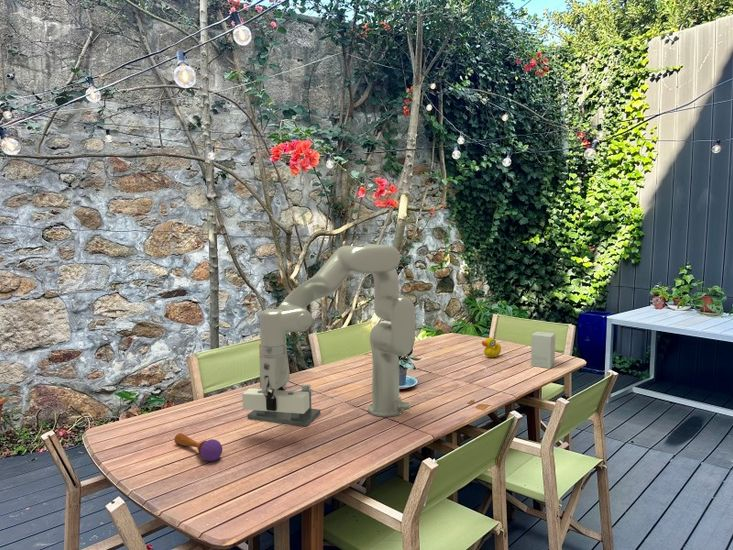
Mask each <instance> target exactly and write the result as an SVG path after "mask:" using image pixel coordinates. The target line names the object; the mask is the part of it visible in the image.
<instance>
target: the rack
mask: <svg viewBox="0 0 733 550" xmlns="http://www.w3.org/2000/svg"><path fill="white" fill-rule="evenodd" d="M269 388H271V386H269ZM311 388H312V387H311V385H309V384H301V388H300V389H301V390H300V392H309V406H310V408H309V409H308V410H307V411H306V412H305V413H304V414H300V413H287V412H273V411H259V410H251V411H250V412H249V413H247V415H246V417H247V420H253V419H254V420H255V421H260V422H262V421H263V422H269V423H277V424H284V425H290V426H297V427H303V428H305V427H307V426H309V425H310V424H311V423H312V422H313V421H314V420H315V419H316V418H318V417H319V416H320V415H321V409H318V408H312V390H311ZM256 389H262V388H260V387H257V388H256Z"/></svg>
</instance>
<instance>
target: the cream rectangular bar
mask: <svg viewBox="0 0 733 550" xmlns="http://www.w3.org/2000/svg"><path fill="white" fill-rule="evenodd" d="M269 392H271V393H272V390H269ZM241 398H242V410H245V411H246V410H248V411H249V410H250V411H253V410H259V411H269V410H267V409H266V398H265V395H264V394H263V393H262V389H257V388H248V389H247V390H245V391H244V392H243V393H242V395H241ZM275 398H276V407H277V410H276V411H273V412H287V413H300V414H304V413H305V412H306V411H307V410H308V409H309V408H310V406H309V392H301V390H299V391H298V390H297V391H296V390H285V391H284V390H275Z"/></svg>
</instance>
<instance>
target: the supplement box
mask: <svg viewBox="0 0 733 550" xmlns="http://www.w3.org/2000/svg"><path fill="white" fill-rule="evenodd" d="M530 348H531V350H530V351H531V352H530V353H531V356H530V366H532V367H537V368H544V369H551V368H552V367H553V366H554V365H555V359H556V358H555V355H556V333H555V332H546V331H540V330H539V331H535V332H533V333H532V334H531V347H530Z"/></svg>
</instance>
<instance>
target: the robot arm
mask: <svg viewBox="0 0 733 550" xmlns="http://www.w3.org/2000/svg"><path fill="white" fill-rule="evenodd" d="M400 261H401V254H400V251H399V250H398V249H397V248H396V247H394V246H392V245H389V244H377V243H376V244H375V243H368V244H364V245H363V246H355V245H342V246H340V247H339V248H337V249H336V250H334V252H333V254H332V255H331V256H330V257H329V258H328V259H327V260H326V262H325V263H324V264H323V265H322V266H321V267H320V268H319V269H318V271H316V273H315V274H314V275H313V276H312V277H311V278H309V279H307V280H305V281H304V282H303V283H301V284H300V285H298V286H297V287H295V288H294V289H293V290H292V291H290V293H289V294H288V295H287V296H286V297H285V298H284V299H283V300H282V301H281V303H280V304H279V306H278V307H277V308H270V309H269V308H268V309H265V310H262V311H261V312H260V313H259V324H260V325H259V326H260V327H259V328H260V329H259V330H260V343H261V353H262V356H263V357H262V372H261V376H262V387H263V388H262V393H263V394H264V395H265V398H266V409H267V410H269V411H276V410H277V407H276V398H275V390H284V391H287V388H286V386H287V385H286V384H287V383H288V382H289V381H290V378H291V375H290V365H289V364H290V363H289V357H288V352H287V337H286V335H287V334H286V333H299V332H300V333H301V332H305V331H307V330H308V329H309V328H310V327H311V325H312V323H313V316H312V314H311V312H310V311H309V310H307V308H306V307H308V305H310V304H312V303H314V302H315V301H317V300H320V299H323V298H326V297H329V296H332V295H333V294H335V293H336V292H337V290H338V289H340V287H341V286H342V284H343V283H344V282H345V281H346V279H348V277H349V276H350V275H351V274H352V273H354V274H372V277H373V282H374V283H373V284H374V292H373V293H374V297H373V301H374V302H373V304H374V305H373V310H374V313H375V316H377V318H379V319H380V320H383V321H388V322H389V323H388V322H379V323H376V324H375V325H374V326H373V327H372V328H371V331H370V333H369V342H370V343H369V344H370V348H371V356H372V357H371V358H372V359H371V360H372V361H371V362H372V364H371V365H372V367H371V368H372V370H371V371H372V375H371V376H372V382H371V383H372V385H371V386H372V397H371V399H372V401H371V402H372V403H370V404H368V406H367V411H368V413H370V414H371V415H373V416H376V417H383V418H385V417H386V418H387V417H388V418H389V417H395V416H399V415H401V414H402V413H403V412H404V410H409V411H410V410H411V406H412V405H411V403H410V401H403V400H402V397H401V396H400V359H399V357H404V356H405V357H406V356H407V355H409V354H410V353H411V352H412V351H413V348H414V345H415V339H416V307H415V305H414V303H413V301H412V299H410V298H409V297H407V296H404V295H401V294H400V287H399V285H400V282H399V275H398V271H397V270H396V269H397V268H398V266H399V264H400ZM390 322H391V323H390ZM285 385H286V386H285ZM269 386H271V388H269ZM269 390H272V393H271V392H269ZM400 413H401V414H400ZM398 414H399V415H398Z"/></svg>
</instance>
